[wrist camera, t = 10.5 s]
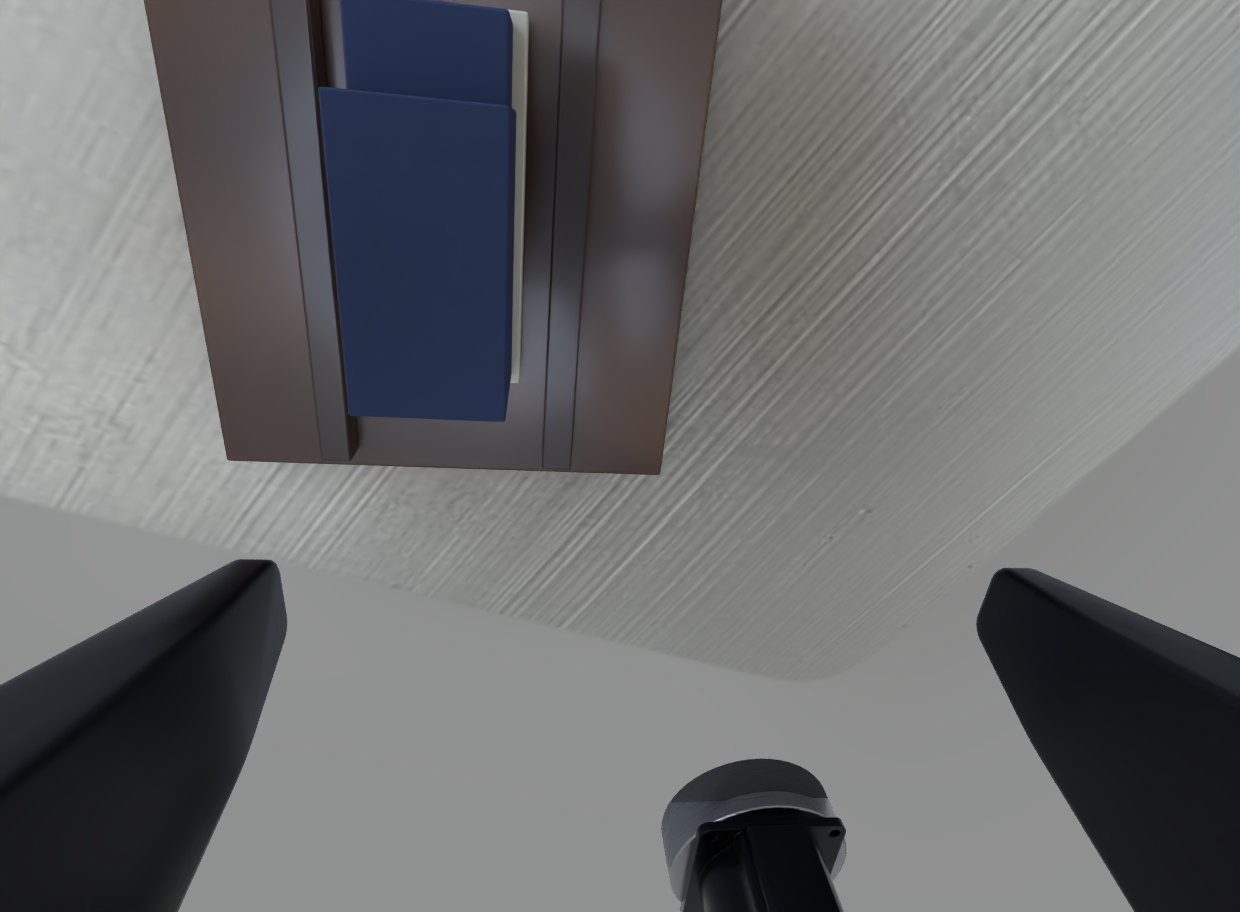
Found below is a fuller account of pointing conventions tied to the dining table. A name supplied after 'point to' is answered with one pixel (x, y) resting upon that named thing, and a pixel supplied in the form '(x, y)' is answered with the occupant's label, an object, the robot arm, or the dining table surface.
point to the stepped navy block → (429, 206)
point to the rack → (553, 230)
